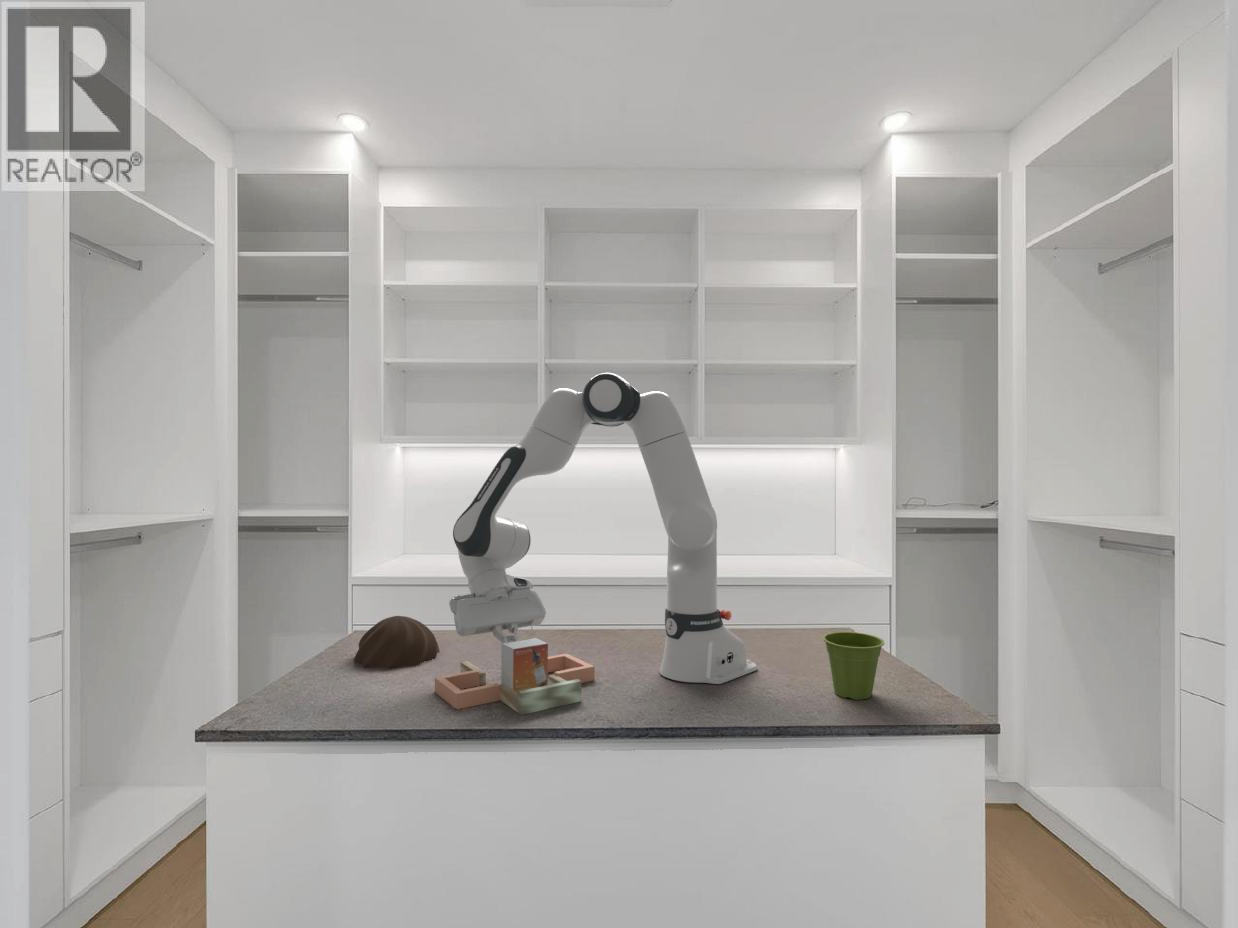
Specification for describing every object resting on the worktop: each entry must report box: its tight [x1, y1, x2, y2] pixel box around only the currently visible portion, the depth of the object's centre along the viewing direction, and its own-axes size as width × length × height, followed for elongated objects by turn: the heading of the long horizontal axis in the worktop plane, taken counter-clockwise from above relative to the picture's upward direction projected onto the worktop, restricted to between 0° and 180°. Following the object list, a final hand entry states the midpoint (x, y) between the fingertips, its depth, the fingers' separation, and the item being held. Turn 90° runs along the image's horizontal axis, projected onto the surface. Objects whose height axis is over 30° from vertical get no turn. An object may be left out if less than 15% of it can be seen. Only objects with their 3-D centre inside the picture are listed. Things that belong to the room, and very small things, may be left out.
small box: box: [500, 637, 549, 693], centre depth 142 cm, size 8×6×10 cm
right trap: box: [548, 653, 596, 684], centre depth 153 cm, size 9×12×3 cm
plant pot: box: [822, 631, 885, 701], centre depth 142 cm, size 12×12×11 cm
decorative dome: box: [353, 615, 440, 670], centre depth 169 cm, size 19×20×10 cm
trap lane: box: [459, 660, 582, 716], centre depth 147 cm, size 13×30×4 cm, turn 34°
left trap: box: [434, 670, 501, 710], centre depth 141 cm, size 9×12×3 cm
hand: (511, 645), depth 149 cm, fingers closed
